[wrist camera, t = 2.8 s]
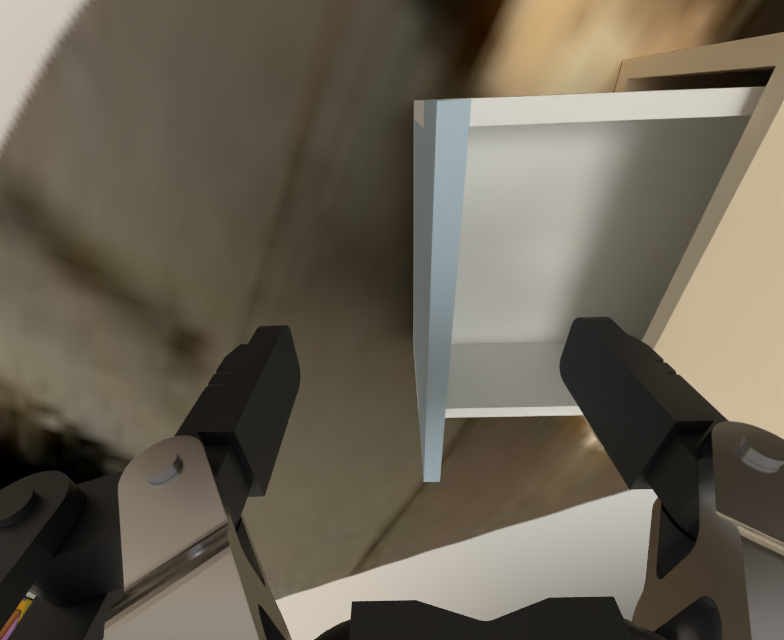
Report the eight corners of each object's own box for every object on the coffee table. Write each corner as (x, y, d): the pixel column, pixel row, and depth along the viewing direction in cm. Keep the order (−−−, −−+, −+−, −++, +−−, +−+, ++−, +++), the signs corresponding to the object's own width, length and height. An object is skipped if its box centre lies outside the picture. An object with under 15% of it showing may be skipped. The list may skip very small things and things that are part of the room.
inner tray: (1104, 71, 12) (2029, 35, 5) (855, 337, 19) (1118, 472, 12) (413, 100, 12) (437, 100, 6) (413, 347, 19) (423, 482, 12)
